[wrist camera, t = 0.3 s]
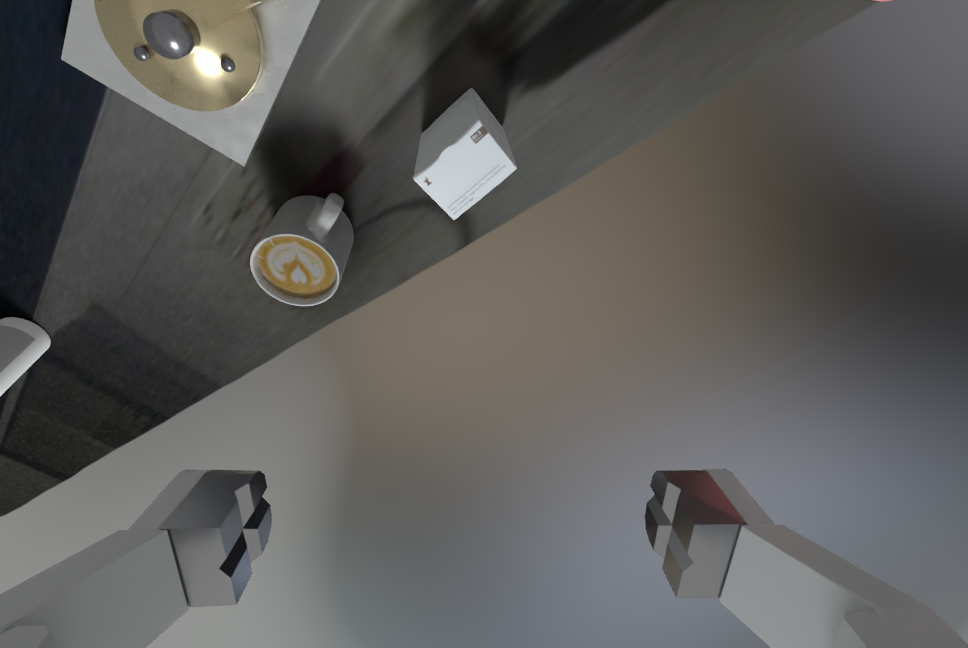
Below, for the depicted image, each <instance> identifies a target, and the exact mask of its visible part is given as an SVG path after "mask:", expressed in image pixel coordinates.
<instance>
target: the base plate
mask: <svg viewBox="0 0 968 648" xmlns="http://www.w3.org/2000/svg"><path fill="white" fill-rule="evenodd" d="M323 1H324V0H264V1H262V2H261V3H259V4H257V5H255V6H254V7H253V9H254V12H255V14H256V16H257V19H258V22H259V25H260V28H261V32H262V37H263V45H264V62H263V67H262V72H261V74H260V77H259V80H258V82H257V84H256V85H255V87H254V88H253V89H252V91H251V92H250V93H249V94H248V95H247V96H246V97H245V98H243V99H242V100H241V101H239V102H238V103H236V104H234V105H233V106H231V107H228V108H226V109H222V110H218V111H209V112H207V111H195V110H190V109H186V108H183V107H180V106H177V105H175V104H172V103H170V102H168V101H166V100H164V99H162V98H161V97H159V96H157V95H156V94H154V93H153V92H151V91H150V90H148V89H147V88H146V87H145V86H143V85H142V84H141V83H140V82H139V81H138V80H137V79H136V78H134V77H133V76H132V75H131V74H130V72H129V71H128V70H127V69H126V68H125V67H124V66H123V65H122V63H121V62H120V61H119V59H118V58H117V57H116V55H115V54H114V52H113V50H112V49H111V47H110V46H109V44H108V42H107V40H106V38H105V36H104V34H103V32H102V29H101V27H100V24H99V22H98V18H97V15H96V11H95V6H94V0H72V5H71V10H70V15H69V21H68V26H67V31H66V36H65V41H64V46H63V52H62V57H61V59H62V60H63V61H65V62H67V63H68V64H70V65H72V66H74V67H75V68H77V69H79V70H80V71H82V72H84V73H86V74H87V75H89V76H91V77H92V78H94V79H96V80H98V81H99V82H101V83H103V84H104V85H106V86H108V87H110V88H111V89H113V90H115V91H116V92H118V93H120V94H121V95H123V96H125V97H127V98H128V99H130V100H132V101H133V102H135V103H137V104H139V105H140V106H142V107H144V108H145V109H147V110H149V111H151V112H152V113H154V114H156V115H157V116H159V117H161V118H163V119H164V120H166V121H168V122H169V123H171V124H173V125H174V126H176V127H178V128H180V129H181V130H183V131H185V132H186V133H188V134H190V135H192V136H193V137H195V138H197V139H198V140H200V141H202V142H204V143H205V144H207V145H209V146H210V147H212V148H214V149H216V150H217V151H219V152H221V153H222V154H224V155H226V156H227V157H229V158H231V159H233V160H234V161H236V162H238V163H239V164H241V165H243V166H245V165H246V164H247V163H248V162H249V161H250V160H251V157H252V155H253V153H254V151H255V149H256V147H257V144H258V142H259V140H260V138H261V136H262V134H263V131H264V129H265V127H266V125H267V123H268V121H269V118H270V116H271V114H272V112H273V110H274V107H275V105H276V103H277V101H278V99H279V97H280V94H281V92H282V90H283V88H284V86H285V84H286V81H287V79H288V77H289V75H290V73H291V71H292V68H293V66H294V64H295V62H296V60H297V58H298V55H299V53H300V51H301V49H302V47H303V45H304V42H305V40H306V38H307V36H308V34H309V32H310V29H311V27H312V25H313V23H314V21H315V19H316V16H317V14H318V12H319V10H320V8H321V6H322V3H323Z"/></svg>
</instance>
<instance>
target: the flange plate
mask: <svg viewBox="0 0 968 648" xmlns="http://www.w3.org/2000/svg"><path fill="white" fill-rule="evenodd" d="M262 1H264V0H94V6H95V11H96V15H97V18H98V22H99V24H100V27H101V29H102V32H103V34H104V36H105V38H106V40H107V42H108V44H109V46H110V47H111V49H112V50H113V52H114V54H115V55H116V57H117V58H118V59H119V61H120V62H121V63H122V65H123V66H124V67H125V68H126V69H127V70H128V71H129V72H130V74H131V75H132V76H133V77H134V78H136V79H137V80H138V81H139V82H140V83H141V84H142V85H143V86H145V87H146V88H147V89H148V90H150V91H151V92H153V93H154V94H156V95H157V96H159V97H161V98H162V99H164V100H166V101H168V102H170V103H172V104H175V105H177V106H180V107H183V108H186V109H190V110H195V111H207V112H209V111H218V110H222V109H226V108H228V107H231V106H233V105H234V104H236V103H238V102H239V101H241V100H242V99H243V98H245V97H246V96H247V95H248V94H249V93H250V92H251V91H252V89H253V88H254V87H255V85H256V84H257V82H258V80H259V77H260V74H261V72H262V67H263V62H264V45H263V37H262V32H261V28H260V25H259V22H258V19H257V16H256V14H255V12H254V9H253V7H254V6H255V5H257V4H259V3H261V2H262Z"/></svg>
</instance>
